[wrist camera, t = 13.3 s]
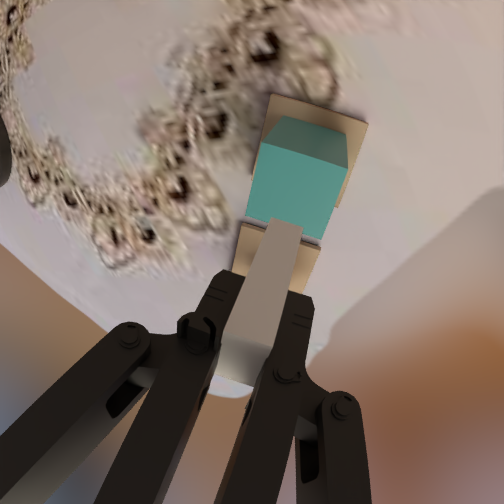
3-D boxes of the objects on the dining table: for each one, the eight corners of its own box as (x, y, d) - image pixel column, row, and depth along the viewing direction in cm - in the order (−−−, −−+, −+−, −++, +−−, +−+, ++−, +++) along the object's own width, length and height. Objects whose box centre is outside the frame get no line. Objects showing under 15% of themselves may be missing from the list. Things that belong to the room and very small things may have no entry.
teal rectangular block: (269, 171, 27) (245, 215, 21) (283, 115, 24) (261, 142, 18) (327, 189, 27) (321, 239, 21) (346, 134, 23) (348, 169, 17)
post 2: (230, 279, 37) (211, 321, 31) (243, 222, 32) (221, 263, 26) (297, 301, 36) (287, 346, 31) (320, 247, 31) (314, 293, 26)
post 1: (253, 177, 28) (230, 213, 23) (272, 93, 23) (251, 107, 18) (338, 204, 28) (335, 246, 23) (367, 122, 23) (376, 146, 18)
